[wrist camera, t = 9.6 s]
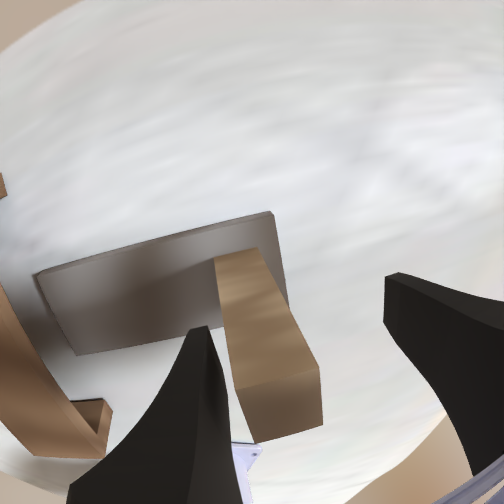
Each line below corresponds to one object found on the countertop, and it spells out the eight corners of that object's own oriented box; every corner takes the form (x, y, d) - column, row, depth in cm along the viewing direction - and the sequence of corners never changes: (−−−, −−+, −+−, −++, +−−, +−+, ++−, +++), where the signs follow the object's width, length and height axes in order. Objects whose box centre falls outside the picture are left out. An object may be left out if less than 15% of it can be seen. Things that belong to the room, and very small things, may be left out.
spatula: (270, 210, 15) (358, 312, 6) (285, 301, 16) (353, 434, 8) (42, 270, 14) (-47, 384, 5) (80, 347, 15) (36, 474, 7)
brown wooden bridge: (112, 411, 17) (104, 458, 14) (47, 414, 17) (33, 455, 13) (1, 172, 11) (-48, 189, 8) (-61, 209, 11) (-103, 231, 7)
